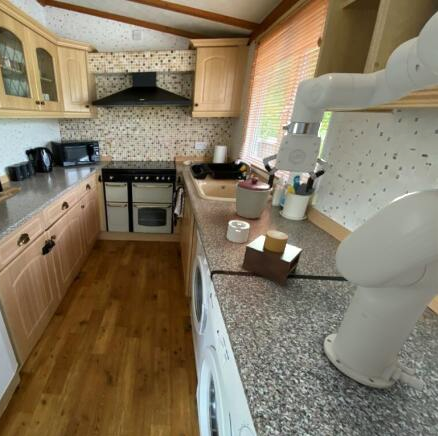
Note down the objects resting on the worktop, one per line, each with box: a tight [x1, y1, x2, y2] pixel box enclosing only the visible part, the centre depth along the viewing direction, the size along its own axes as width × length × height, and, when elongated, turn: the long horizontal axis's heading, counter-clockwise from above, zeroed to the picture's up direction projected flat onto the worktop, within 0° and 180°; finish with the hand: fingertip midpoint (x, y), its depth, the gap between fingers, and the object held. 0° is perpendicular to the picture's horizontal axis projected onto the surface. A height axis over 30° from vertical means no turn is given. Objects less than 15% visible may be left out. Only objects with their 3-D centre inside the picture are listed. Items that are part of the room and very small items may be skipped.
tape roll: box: [264, 230, 289, 252], centre depth 82 cm, size 7×7×5 cm
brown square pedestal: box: [241, 234, 303, 287], centre depth 85 cm, size 14×12×9 cm
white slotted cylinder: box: [226, 219, 251, 244], centre depth 112 cm, size 20×9×7 cm, turn 157°
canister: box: [235, 176, 274, 220], centre depth 129 cm, size 18×18×21 cm
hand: (288, 189), depth 74 cm, fingers open, 9 cm apart
